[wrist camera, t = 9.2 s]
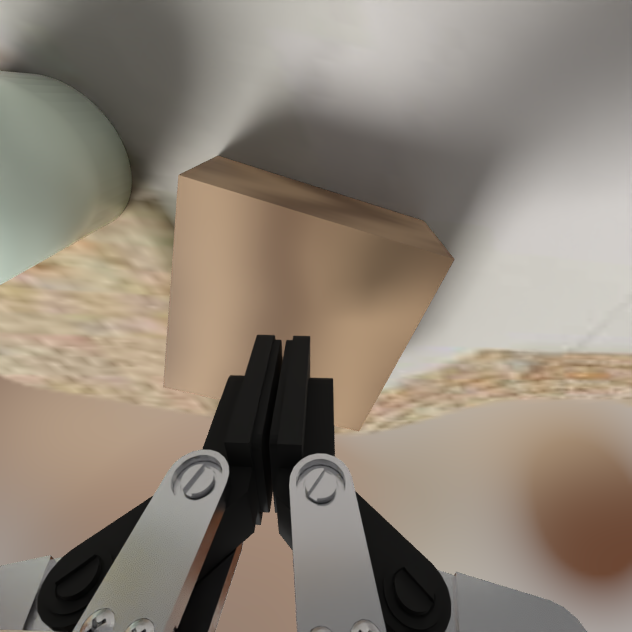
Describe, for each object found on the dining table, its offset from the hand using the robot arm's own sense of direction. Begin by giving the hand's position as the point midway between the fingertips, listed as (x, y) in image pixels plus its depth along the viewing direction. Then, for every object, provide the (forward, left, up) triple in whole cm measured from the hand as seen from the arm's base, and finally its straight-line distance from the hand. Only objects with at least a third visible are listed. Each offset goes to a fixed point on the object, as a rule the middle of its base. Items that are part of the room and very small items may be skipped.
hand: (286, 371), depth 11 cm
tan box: (0, +1, -8) cm, 8 cm away
